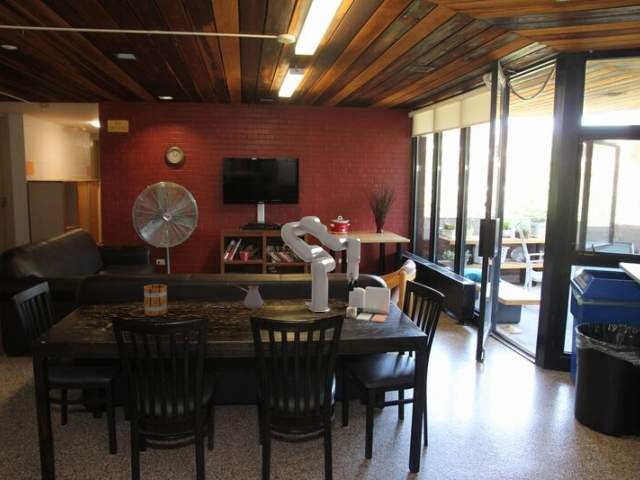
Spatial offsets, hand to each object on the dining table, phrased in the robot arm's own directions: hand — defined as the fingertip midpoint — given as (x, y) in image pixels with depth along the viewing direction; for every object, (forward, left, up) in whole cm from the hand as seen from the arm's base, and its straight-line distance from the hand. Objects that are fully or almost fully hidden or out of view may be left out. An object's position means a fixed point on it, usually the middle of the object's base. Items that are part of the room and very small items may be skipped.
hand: (353, 289), depth 281 cm
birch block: (0, 0, -16) cm, 16 cm away
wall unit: (+12, +14, -16) cm, 24 cm away
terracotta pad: (+16, 0, -16) cm, 22 cm away
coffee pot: (-65, -5, -16) cm, 67 cm away
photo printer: (-2, +21, -16) cm, 27 cm away
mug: (-107, -32, -16) cm, 113 cm away
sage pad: (+7, 0, -16) cm, 17 cm away
